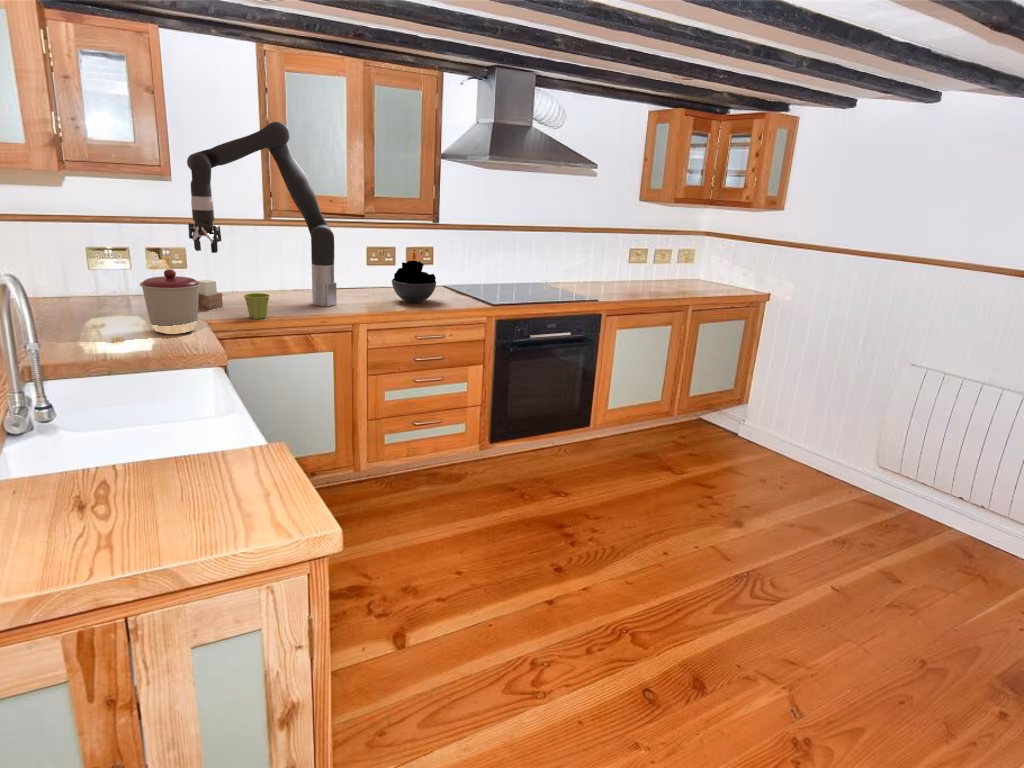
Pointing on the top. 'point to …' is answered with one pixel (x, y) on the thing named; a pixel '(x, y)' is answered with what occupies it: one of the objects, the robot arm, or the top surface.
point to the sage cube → (207, 287)
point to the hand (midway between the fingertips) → (206, 251)
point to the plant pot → (257, 305)
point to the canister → (171, 299)
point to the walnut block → (210, 301)
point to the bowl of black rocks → (413, 282)
